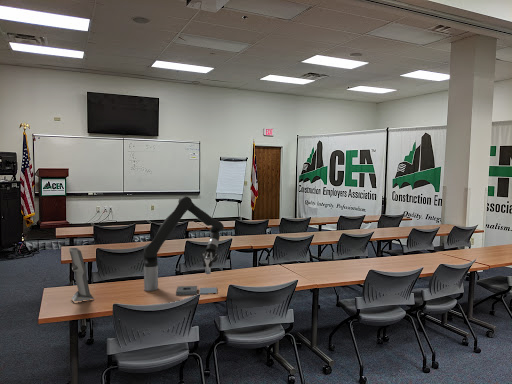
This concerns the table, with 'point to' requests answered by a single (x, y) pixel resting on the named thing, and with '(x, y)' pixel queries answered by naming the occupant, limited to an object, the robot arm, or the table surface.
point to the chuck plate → (186, 290)
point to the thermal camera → (80, 276)
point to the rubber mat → (208, 290)
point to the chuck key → (207, 265)
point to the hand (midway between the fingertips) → (206, 266)
